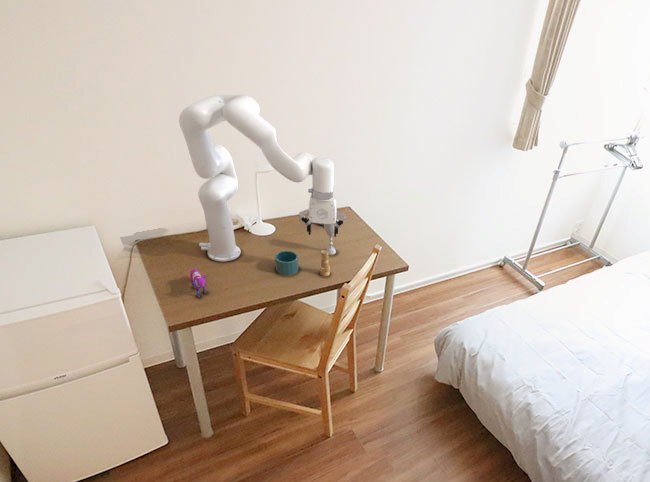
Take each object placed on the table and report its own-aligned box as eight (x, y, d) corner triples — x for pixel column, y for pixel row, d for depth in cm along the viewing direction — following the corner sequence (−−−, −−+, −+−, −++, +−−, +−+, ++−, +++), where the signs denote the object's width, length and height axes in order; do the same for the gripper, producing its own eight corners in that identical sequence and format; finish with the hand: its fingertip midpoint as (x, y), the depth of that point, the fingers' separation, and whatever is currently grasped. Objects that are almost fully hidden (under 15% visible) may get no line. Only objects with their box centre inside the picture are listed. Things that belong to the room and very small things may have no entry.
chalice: (334, 258, 200) (335, 221, 189) (320, 254, 200) (319, 217, 189) (341, 250, 206) (342, 214, 194) (326, 247, 206) (326, 210, 195)
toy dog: (201, 304, 164) (196, 281, 158) (187, 278, 174) (181, 255, 168) (212, 302, 166) (207, 278, 160) (197, 276, 176) (192, 253, 170)
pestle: (319, 277, 188) (319, 254, 181) (320, 271, 191) (319, 248, 184) (329, 277, 189) (329, 254, 182) (329, 271, 192) (330, 249, 185)
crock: (274, 275, 184) (273, 262, 180) (277, 263, 191) (276, 250, 186) (297, 276, 186) (296, 263, 182) (299, 264, 192) (298, 251, 188)
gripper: (297, 195, 163) (298, 237, 174) (346, 199, 167) (345, 240, 178) (299, 186, 169) (300, 227, 180) (347, 191, 173) (345, 231, 183)
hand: (322, 234), depth 179 cm, fingers open, 9 cm apart
